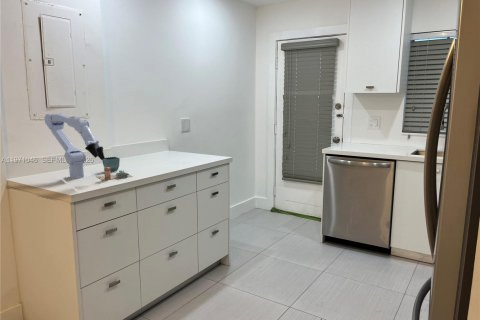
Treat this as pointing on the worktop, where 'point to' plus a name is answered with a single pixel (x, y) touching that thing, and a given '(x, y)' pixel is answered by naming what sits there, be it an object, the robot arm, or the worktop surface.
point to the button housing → (121, 175)
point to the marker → (107, 173)
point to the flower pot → (111, 163)
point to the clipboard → (111, 177)
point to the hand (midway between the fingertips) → (99, 157)
